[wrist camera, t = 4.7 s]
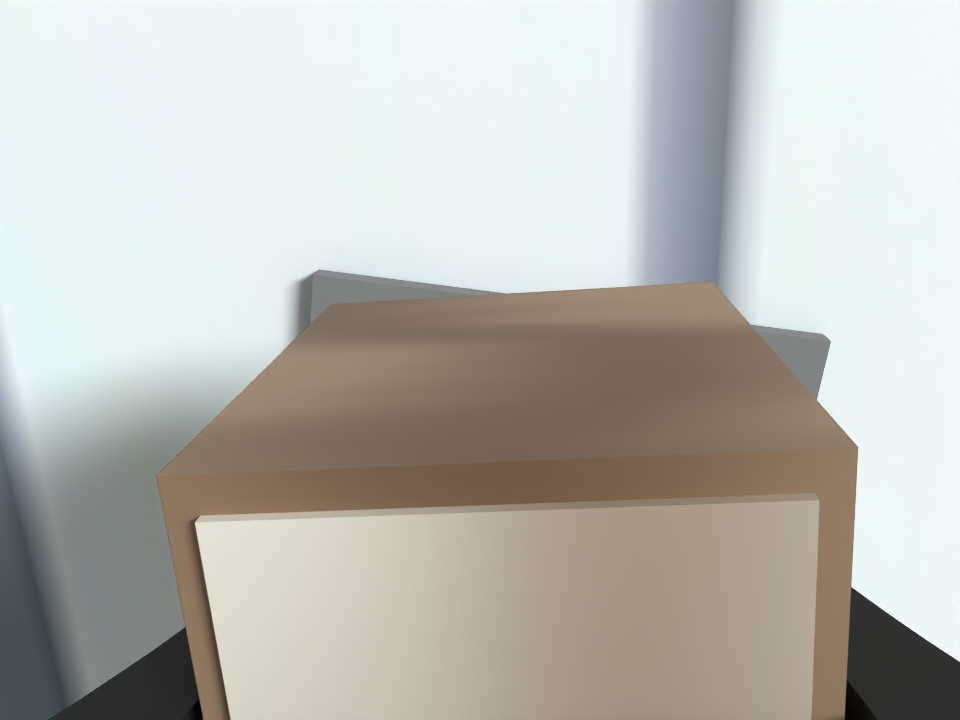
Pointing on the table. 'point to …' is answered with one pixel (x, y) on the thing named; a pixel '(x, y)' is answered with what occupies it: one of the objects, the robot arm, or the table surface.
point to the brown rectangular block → (519, 518)
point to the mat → (330, 287)
